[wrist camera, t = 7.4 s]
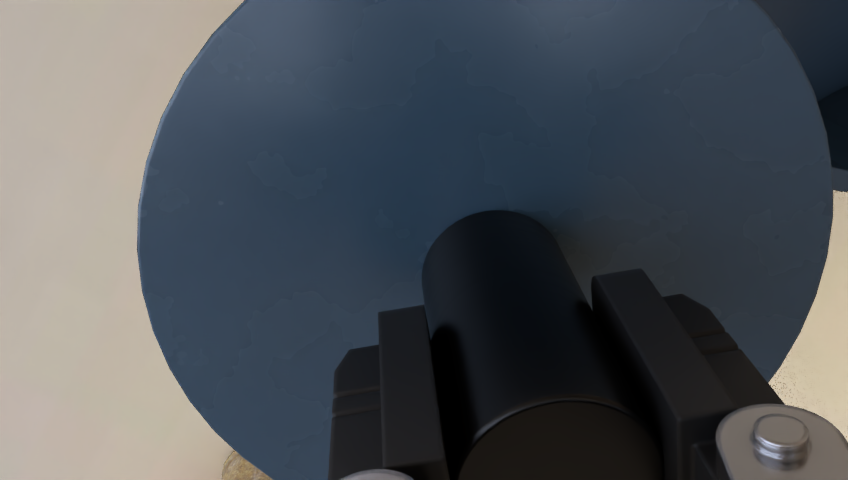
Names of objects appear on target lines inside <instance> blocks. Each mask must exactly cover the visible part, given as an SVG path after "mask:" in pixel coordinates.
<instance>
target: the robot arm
mask: <svg viewBox="0 0 848 480" xmlns="http://www.w3.org/2000/svg"><path fill="white" fill-rule="evenodd" d="M591 296H592V309H593V313H594V315H595V317H596V319H597V321H598V322H599V324H600V326H601V328H602V330H603V332H604V334H605V336H606V338H607V340H608V342H609V344H610V346H611V348H612V350H613V351H614V353H615V355H616V357H617V359H618V361H619V363H620V365H621V367H622V369H623V371H624V373H625V375H626V377H627V378H628V380H629V382H630V384H631V386H632V388H633V390H634V392H635V394H636V396H637V398H638V400H639V402H640V404H641V406H642V407H643V409H644V411H645V413H646V415H647V417H648V419H649V421H650V423H651V425H652V427H653V429H654V431H655V433H656V435H657V437H658V439H659V441H660V443H661V445H662V450H663V456H664V480H848V442H847V441H846V439H845V437H844V436H843V435H842V433H841V432H840V431H839V430H838V429H837V428H836V427H835V426H834V425H833V424H832V423H830V422H829V421H827V420H826V419H824V418H823V417H821V416H819V415H817V414H815V413H812V412H810V411H807V410H805V409H801V408H798V407H794V406H789V405H785V404H784V403H783V402H782V400H781V399H780V398H779V397H778V395H777V394H776V393H775V391H774V390H773V389H772V388H771V386H770V385H769V384H768V383H767V381H766V380H765V379H764V378H763V376H762V375H761V374H760V372H759V371H758V370H757V369H756V367H755V366H754V365H753V364H752V362H751V361H750V360H749V359H748V357H747V356H746V355H745V353H744V352H743V351H742V350H741V349H738V345H737V343H736V342H735V341H734V339H733V338H732V337H731V336H730V334H729V333H728V332H727V333H726V332H725V328H724V327H723V326H722V324H721V323H720V322H719V320H718V319H717V318H716V317H715V315H714V314H713V313H712V312H711V310H710V309H709V308H707V307H705V306H704V305H702V304H700V303H698V302H696V301H694V300H693V299H691V298H689V297H687V296H685V295H684V294H676V295H671V296H665V297H662V296H661V295H660V293H659V292H658V290H657V289H656V288H655V286H654V285H653V283H652V282H651V280H650V279H649V278H648V276H647V275H646V273H645V272H644V271H643V270H642V269H641V268H638V269H632V270H626V271H620V272H615V273H609V274H603V275H597V276H593V277H592V281H591ZM378 329H379V345H373V346H367V347H361V348H356V349H350V350H349V351H348V352H347V354H346V355H345V357H344V358H343V360H342V361H341V363H340V364H339V366H338V367H337V369H336V370H335V371H334V388H333V396H334V399H333V405H332V416H333V418H332V421H331V438H330V454H329V471H328V480H451V479H450V472H449V465H448V458H447V451H446V444H445V437H444V430H443V423H442V416H441V409H440V402H439V395H438V388H437V380H436V373H435V366H434V359H433V352H432V345H431V339H430V333H429V327H428V322H427V316H426V311H425V306H424V305H418V306H412V307H406V308H400V309H394V310H389V311H383V312H378Z"/></svg>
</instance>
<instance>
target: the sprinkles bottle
mask: <svg viewBox="0 0 848 480" xmlns="http://www.w3.org/2000/svg"><path fill="white" fill-rule="evenodd" d="M222 480H273V479H271V478H270V477H269V476H267V475H266V474H265V473H263V472H262V471H260V470H259V469H258V468H256V467H255V466H254V465H252V464H251V463H250V462H248V461H247V460H245V459H244V458H243V457H241V456H240V455H239V454H238V453H237V452H236V451H234V452H233V453H232V454H231V455H230V456H229V458H228V459H227V461H226V462H225V464H224V468H223V472H222Z"/></svg>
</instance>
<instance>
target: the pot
mask: <svg viewBox="0 0 848 480" xmlns="http://www.w3.org/2000/svg"><path fill="white" fill-rule="evenodd" d="M756 1H757V2H758V3H759V4H760V5H761V7H762V8H763V9H764V10H765V11H766V12H767V13H768V14H769V15H770V17H771V18H772V19H773V21H774V22H775V24H776V25H777V27H778V28H779V29H780V31H781V32H782V34H783V35H784V37H785V38H786V40H787V41H788V42H789V44H790V45H791V47H792V48H793V50H794V51H795V53H796V55H797V57H798V59H799V61H800V63H801V65H802V67H803V69H804V71H805V74H806V76H807V78H808V80H809V82H810V84H811V86H812V88H813V90H814V93H815V96H816V99H817V103H818V106H819V109H820V112H821V116H822V119H823V122H824V126H825V129H826V132H827V138H828V145H829V152H830V158H831V165H832V172H833V190H837V191H841V192H843V191H844V192H847V191H848V0H756Z"/></svg>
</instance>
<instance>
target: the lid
mask: <svg viewBox="0 0 848 480" xmlns="http://www.w3.org/2000/svg"><path fill="white" fill-rule="evenodd" d="M832 219H833V172H832V165H831V158H830V152H829V145H828V138H827V132H826V129H825V126H824V122H823V119H822V116H821V112H820V109H819V106H818V103H817V99H816V96H815V93H814V90H813V88H812V86H811V84H810V82H809V80H808V78H807V76H806V74H805V71H804V69H803V67H802V65H801V63H800V61H799V59H798V57H797V55H796V53H795V51H794V50H793V48H792V47H791V45H790V44H789V42H788V41H787V40H786V38H785V37H784V35H783V34H782V32H781V31H780V29H779V28H778V27H777V25H776V24H775V22H774V21H773V19H772V18H771V17H770V15H769V14H768V13H767V12H766V11H765V10H764V9H763V8H762V7H761V5H760V4H759V3H758V2H757V1H756V0H244V2H243V3H242V4H241V5H240V6H239V7H238V8H237V9H236V10H235V11H234V12H233V13H232V14H231V15H230V16H229V17H228V18H227V19H226V20H225V21H224V22H223V23H222V24H221V25H220V27H219V28H218V29H217V30H216V31H215V32H214V33H213V34H212V35H211V37H210V38H209V39H208V41H207V42H206V44H205V45H204V46H203V48H202V49H201V51H200V52H199V53H198V55H197V56H196V58H195V59H194V60H193V62H192V63H191V65H190V66H189V67H188V69H187V70H186V72H185V73H184V74H183V76H182V78H181V80H180V82H179V84H178V86H177V88H176V90H175V92H174V94H173V96H172V97H171V99H170V101H169V103H168V105H167V107H166V109H165V111H164V113H163V115H162V117H161V119H160V122H159V125H158V128H157V131H156V134H155V137H154V140H153V143H152V146H151V149H150V152H149V155H148V158H147V161H146V165H145V171H144V176H143V182H142V188H141V193H140V199H139V204H138V232H137V253H138V261H139V270H140V278H141V286H142V292H143V296H144V300H145V303H146V307H147V310H148V314H149V318H150V321H151V325H152V329H153V332H154V334H155V336H156V339H157V341H158V343H159V345H160V348H161V350H162V352H163V355H164V357H165V359H166V361H167V364H168V366H169V368H170V370H171V371H172V373H173V375H174V376H175V378H176V380H177V381H178V383H179V384H180V386H181V388H182V389H183V391H184V393H185V394H186V396H187V397H188V399H189V401H190V402H191V403H192V404H193V406H194V407H195V408H196V409H197V410H198V412H199V413H200V414H201V415H202V417H203V418H204V419H205V420H206V421H207V423H208V424H209V425H210V426H211V428H212V429H213V430H214V431H215V432H216V433H217V434H218V435H219V436H220V437H221V438H222V439H223V440H224V441H226V442H227V443H228V444H229V445H230V446H231V447H232V448H233V449H234V450H235V451H236V452H237V453H238V454H239V455H240V456H241V457H243V458H244V459H245V460H247V461H248V462H250V463H251V464H252V465H254V466H255V467H256V468H258V469H259V470H260V471H262V472H263V473H265V474H266V475H267V476H269V477H270V478H271V479H273V480H328V471H329V454H330V438H331V421H332V418H333V416H332V405H333V399H334V396H333V388H334V371H335V370H336V369H337V367H338V366H339V364H340V363H341V361H342V360H343V358H344V357H345V355H346V354H347V352H348V351H349V350H350V349H356V348H361V347H367V346H373V345H379V329H378V312H383V311H389V310H394V309H400V308H406V307H412V306H418V305H424V306H425V311H426V316H427V322H428V327H429V333H430V339H431V345H432V352H433V359H434V366H435V373H436V380H437V388H438V395H439V402H440V409H441V416H442V423H443V430H444V437H445V444H446V451H447V458H448V465H449V472H450V479H451V480H664V456H663V450H662V445H661V443H660V441H659V439H658V437H657V435H656V433H655V431H654V429H653V427H652V425H651V423H650V421H649V419H648V417H647V415H646V413H645V411H644V409H643V407H642V406H641V404H640V402H639V400H638V398H637V396H636V394H635V392H634V390H633V388H632V386H631V384H630V382H629V380H628V378H627V377H626V375H625V373H624V371H623V369H622V367H621V365H620V363H619V361H618V359H617V357H616V355H615V353H614V351H613V350H612V348H611V346H610V344H609V342H608V340H607V338H606V336H605V334H604V332H603V330H602V328H601V326H600V324H599V322H598V321H597V319H596V317H595V315H594V313H593V309H592V296H591V281H592V277H593V276H597V275H603V274H609V273H615V272H620V271H626V270H632V269H638V268H641V269H642V270H643V271H644V272H645V273H646V275H647V276H648V278H649V279H650V280H651V282H652V283H653V285H654V286H655V288H656V289H657V290H658V292H659V293H660V295H661V296H662V297H665V296H671V295H676V294H684V295H685V296H687V297H689V298H691V299H693V300H694V301H696V302H698V303H700V304H702V305H704V306H705V307H707V308H709V309H710V310H711V312H712V313H713V314H714V315H715V317H716V318H717V319H718V320H719V322H720V323H721V324H722V326H723V327H724V328H725V332H726V333H727V332H728V333H729V334H730V336H731V337H732V338H733V339H734V341H735V342H736V343H737V345H738V349H741V350H742V351H743V352H744V353H745V355H746V356H747V357H748V359H749V360H750V361H751V362H752V364H753V365H754V366H755V367H756V369H757V370H758V371H759V372H760V374H761V375H762V376H763V378H764V379H765V380H766V381H767V383H768V382H769V381H770V380H771V378H772V377H773V376H774V374H775V373H776V372H777V370H778V369H779V368H780V366H781V365H782V363H783V361H784V359H785V358H786V356H787V354H788V352H789V351H790V349H791V347H792V346H793V344H794V342H795V340H796V339H797V337H798V335H799V334H800V332H801V329H802V327H803V325H804V322H805V320H806V318H807V315H808V313H809V311H810V308H811V306H812V304H813V301H814V299H815V297H816V294H817V290H818V287H819V283H820V280H821V276H822V273H823V269H824V266H825V262H826V259H827V254H828V247H829V240H830V233H831V226H832Z"/></svg>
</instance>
